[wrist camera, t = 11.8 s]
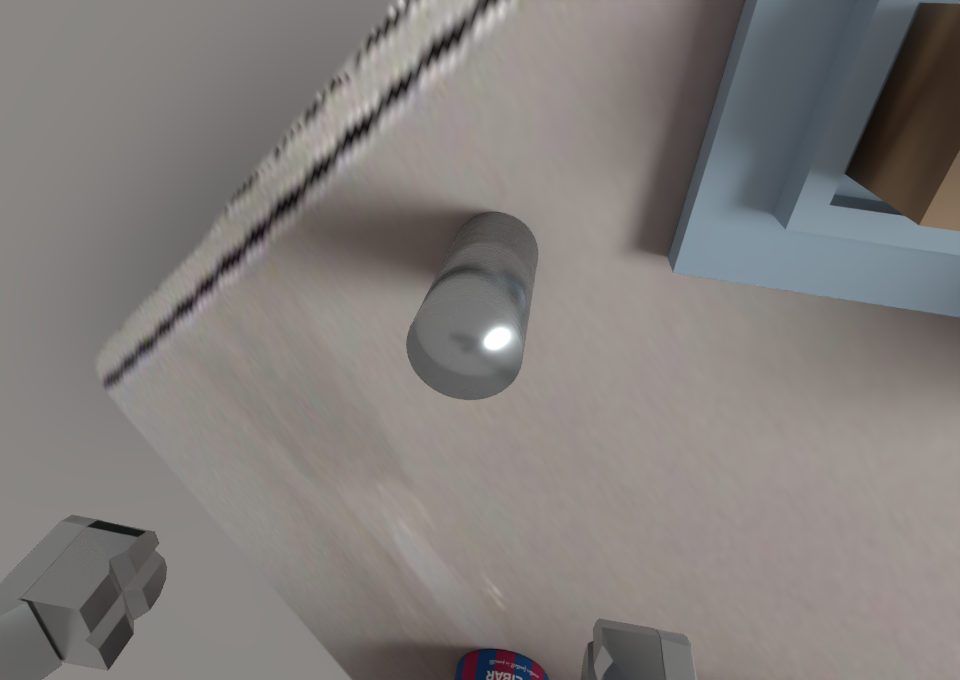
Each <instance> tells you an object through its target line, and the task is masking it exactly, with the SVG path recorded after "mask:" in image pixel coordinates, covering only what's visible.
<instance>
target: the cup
mask: <svg viewBox="0 0 960 680" xmlns="http://www.w3.org/2000/svg"><path fill="white" fill-rule="evenodd" d="M455 680H548V677H547V675H546V673H545V672H544V670H543V669H542V668H541V667H540V666H539V665H538V664H536V663H535V662H534V661H532V660H530V659H529V658H527V657H525V656H522V655H520V654H517V653H513V652H509V651H504V650H495V649H491V650H479V651H476V652H472V653H470V654H468V655H466V656H465V657H463V658H462V659H461V660H460V662H459V663H458V665H457V669H456V674H455Z"/></svg>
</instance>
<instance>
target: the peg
mask: <svg viewBox="0 0 960 680" xmlns="http://www.w3.org/2000/svg"><path fill="white" fill-rule="evenodd" d="M537 261H538V247H537V243H536V240H535V238H534V236H533V234H532V232H531V231H530V229H529V228H528V227H527V226H526V225H525V224H524V223H523V222H521V221H520V220H519V219H517V218H515V217H513V216H511V215H508V214H505V213H498V212H491V213H484V214H481V215H478V216H476V217H474V218H472V219H471V220H469V221H468V222H467V223H466V224H465V225H464V226H463V227H462V228H461V229H460V231H459V233H458V235H457V236H456V238H455V240H454V242H453V244H452V246H451V248H450V250H449V252H448V254H447V256H446V258H445V260H444V262H443V264H442V266H441V268H440V270H439V272H438V274H437V276H436V278H435V280H434V281H433V283H432V285H431V287H430V289H429V291H428V293H427V295H426V297H425V299H424V301H423V303H422V305H421V307H420V309H419V311H418V313H417V315H416V317H415V319H414V321H413V323H412V325H411V327H410V329H409V332H408V336H407V343H406V346H407V354H408V358H409V361H410V363H411V365H412V367H413V369H414V371H415V372H416V373H417V375H418V376H419V377H420V378H421V379H422V380H423V381H424V382H425V383H426V384H427V385H428V386H430V387H431V388H433V389H434V390H436V391H438V392H439V393H442V394H444V395H446V396H449V397H453V398H457V399H463V400H478V399H484V398H488V397H491V396H494V395H496V394H498V393H500V392H502V391H503V390H504V389H506V388H507V387H508V386H509V385H510V384H511V383H512V382H513V381H514V380H515V378H516V377H517V375H518V373H519V370H520V368H521V364H522V359H523V352H524V346H525V339H526V333H527V326H528V319H529V313H530V306H531V300H532V293H533V287H534V280H535V274H536V267H537Z"/></svg>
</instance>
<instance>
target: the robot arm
mask: <svg viewBox="0 0 960 680" xmlns="http://www.w3.org/2000/svg"><path fill="white" fill-rule="evenodd" d="M158 544H159V542H158V539H157V536H156V534H155V532H154V531H150V530H144V529H140V528H134V527H129V526H124V525H119V524H114V523H109V522H104V521H102V520H97V519H92V518H86V517H80V516H76V515H71V516H69V517H68V518H66V519H64V520H62V521H61V522H59V523H58V524H57V525H56V526H55V528H54V529H53V530H52V531H51V532H50V533H49V534H48V535H47V536H46V537H45V538H44V539H43V540H42V541H41V542H40V543H39V544H38V545H37V546H36V547H35V548H34V549H33V550H32V551H31V552H30V553H29V554H28V555H27V556H26V557H25V558H24V559H23V560H22V561H21V562H20V563H19V564H18V565H17V566H16V567H15V568H14V569H13V571H12V572H11V573H10V574H9V575H8V576H7V577H6V578H5V579H4V580H3V581H2V582H1V583H0V680H42V679H43V678H45V677H46V676H48V675H49V674H50V673H52V672H53V671H54V670H56V669H57V668H59V667H60V666H61V665H62V663H61V662H65V663H70V664H75V665H81V666H86V667H92V668H97V669H103V670H109V669H110V667H111V666H112V664H113V663H114V661H115V660H116V658H117V657H118V656H119V654H120V653H121V651H122V650H123V648H124V647H125V646H126V644H127V643H128V641H129V640H130V638H131V637H132V636H133V634H134V620H135V619H137V618H138V617H140V616H142V615H143V614H145V613H146V612H148V611H149V610H150V609H151V608H152V606H153V605H154V603H155V602H156V600H157V598H158V597H159V596H160V593H161V590H162V588H163V585H164V583H165V580H166V571H167V566H166V563H165V560H164V558H163V557H162V556H161V555H160V554H159V553H158V552H156V551H155V548H156V547H157V545H158ZM581 680H697V677H696V671H695V665H694V660H693V654H692V648H691V643H690V642H689V640H688V638H687V636H685V635H684V634H679V633H673V632H668V631H662V630H657V629H655V628H650V627H644V626H639V625H633V624H627V623H622V622H616V621H610V620H605V619H598V620H597V621H596V623H595V625H594V628H593V641H592V642H590V643H588V644H587V648H586V651H585V654H584V659H583V665H582V675H581Z"/></svg>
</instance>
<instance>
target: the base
mask: <svg viewBox="0 0 960 680" xmlns="http://www.w3.org/2000/svg"><path fill="white" fill-rule="evenodd" d="M921 3H951V4H960V0H745V3H744V7H743V10H742V13H741V17H740V20H739V23H738V27H737V30H736V33H735V37H734V40H733V43H732V47H731V50H730V53H729V57H728V60H727V63H726V67H725V70H724V73H723V77H722V80H721V83H720V87H719V90H718V93H717V97H716V100H715V103H714V107H713V110H712V113H711V116H710V120H709V123H708V126H707V130H706V133H705V136H704V140H703V143H702V146H701V150H700V153H699V156H698V160H697V163H696V166H695V170H694V173H693V176H692V180H691V183H690V186H689V190H688V193H687V196H686V200H685V203H684V206H683V210H682V213H681V216H680V220H679V223H678V226H677V230H676V233H675V236H674V240H673V243H672V246H671V250H670V253H669V256H668V259H669V262H670V265H671V268H672V271H673V273H677V274H684V275H690V276H697V277H703V278H709V279H716V280H722V281H729V282H735V283H742V284H748V285H754V286H761V287H767V288H774V289H780V290H786V291H793V292H799V293H806V294H812V295H818V296H825V297H831V298H838V299H844V300H851V301H857V302H863V303H870V304H876V305H883V306H889V307H895V308H902V309H908V310H915V311H921V312H927V313H934V314H940V315H947V316H953V317H960V231H953V230H946V229H939V228H932V227H926V226H919V225H917V224H916V223H915V222H913V221H912V220H910V219H909V218H907V217H906V216H905V215H903V214H902V213H900V212H899V211H897V210H896V209H894V208H893V207H892V206H890V205H889V204H887V203H886V202H884V201H883V200H881V199H880V198H879V197H877V196H876V195H874V194H873V193H871V192H870V191H868V190H867V189H866V188H864V187H863V186H861V185H860V184H858V183H857V182H855V181H854V180H853V179H851V178H850V177H848V176H847V175H845V174H846V171H847V169H848V167H849V165H850V162H851V160H852V158H853V156H854V153H855V151H856V149H857V147H858V144H859V142H860V140H861V138H862V135H863V133H864V131H865V129H866V126H867V124H868V122H869V120H870V117H871V115H872V113H873V111H874V108H875V106H876V104H877V102H878V99H879V97H880V95H881V93H882V90H883V88H884V86H885V84H886V82H887V79H888V77H889V75H890V73H891V70H892V68H893V66H894V64H895V61H896V59H897V57H898V55H899V52H900V50H901V48H902V46H903V43H904V41H905V39H906V37H907V34H908V32H909V30H910V28H911V25H912V23H913V21H914V19H915V16H916V14H917V12H918V10H919V7H920V5H921Z"/></svg>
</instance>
